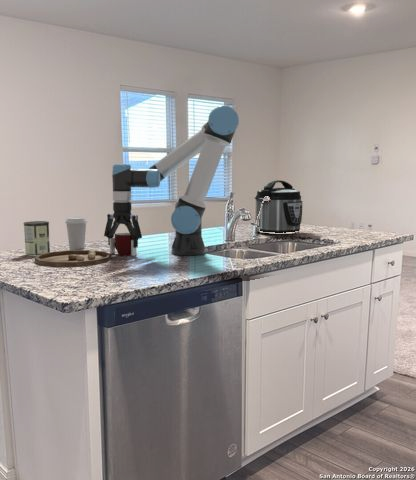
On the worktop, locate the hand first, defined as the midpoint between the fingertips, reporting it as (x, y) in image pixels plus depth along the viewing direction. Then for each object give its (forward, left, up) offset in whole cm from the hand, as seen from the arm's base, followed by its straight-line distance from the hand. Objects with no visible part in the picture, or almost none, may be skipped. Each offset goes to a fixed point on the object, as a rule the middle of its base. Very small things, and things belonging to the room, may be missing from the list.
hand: (123, 254), depth 201 cm
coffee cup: (+29, -5, -1) cm, 29 cm away
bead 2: (+6, +12, 0) cm, 14 cm away
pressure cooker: (-33, -113, -2) cm, 118 cm away
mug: (0, 0, -1) cm, 1 cm away
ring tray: (+10, +19, -1) cm, 22 cm away
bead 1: (+4, +23, 0) cm, 23 cm away
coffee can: (+37, +11, -2) cm, 39 cm away
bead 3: (+3, +17, 0) cm, 17 cm away
